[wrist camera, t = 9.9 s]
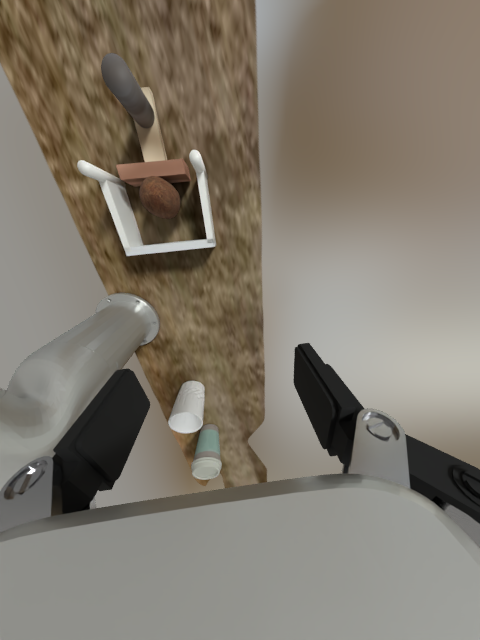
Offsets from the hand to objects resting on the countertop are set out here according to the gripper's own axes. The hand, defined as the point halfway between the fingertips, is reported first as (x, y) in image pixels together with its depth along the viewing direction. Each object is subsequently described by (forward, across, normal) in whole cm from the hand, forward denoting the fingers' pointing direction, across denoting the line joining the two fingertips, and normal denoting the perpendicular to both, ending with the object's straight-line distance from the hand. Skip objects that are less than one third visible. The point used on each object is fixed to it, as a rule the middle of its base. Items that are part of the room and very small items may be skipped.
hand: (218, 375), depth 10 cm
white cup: (+28, +14, +31) cm, 44 cm away
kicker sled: (+28, +7, -20) cm, 35 cm away
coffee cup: (+28, +13, +51) cm, 60 cm away
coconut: (+28, +7, -13) cm, 32 cm away
